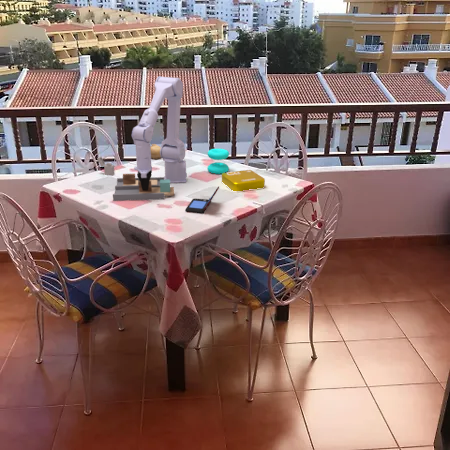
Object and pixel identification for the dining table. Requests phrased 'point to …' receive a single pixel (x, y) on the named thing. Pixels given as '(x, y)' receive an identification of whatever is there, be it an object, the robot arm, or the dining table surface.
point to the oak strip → (155, 190)
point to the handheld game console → (199, 205)
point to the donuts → (218, 166)
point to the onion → (155, 151)
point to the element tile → (243, 180)
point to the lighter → (107, 167)
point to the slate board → (136, 191)
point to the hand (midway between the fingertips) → (145, 189)
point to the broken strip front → (129, 179)
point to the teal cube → (165, 185)
